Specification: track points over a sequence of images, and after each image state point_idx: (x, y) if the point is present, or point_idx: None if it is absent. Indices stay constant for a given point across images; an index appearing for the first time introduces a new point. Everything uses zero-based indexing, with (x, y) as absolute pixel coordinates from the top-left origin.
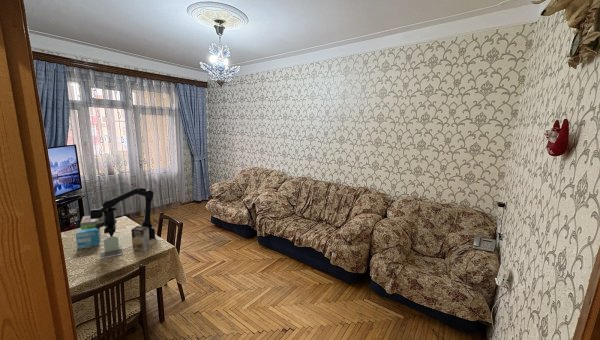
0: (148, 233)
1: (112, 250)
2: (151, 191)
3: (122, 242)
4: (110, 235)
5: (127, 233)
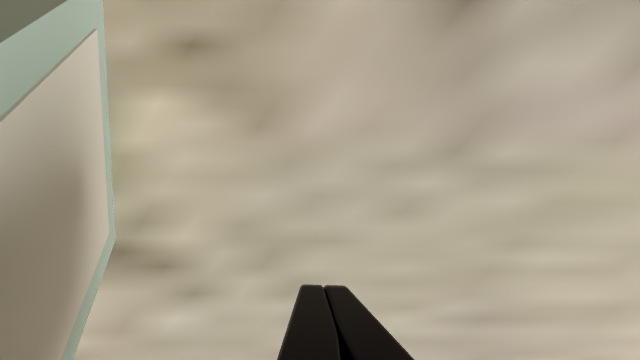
0: None
1: None
2: None
3: None
4: (285, 340)
5: (637, 349)
